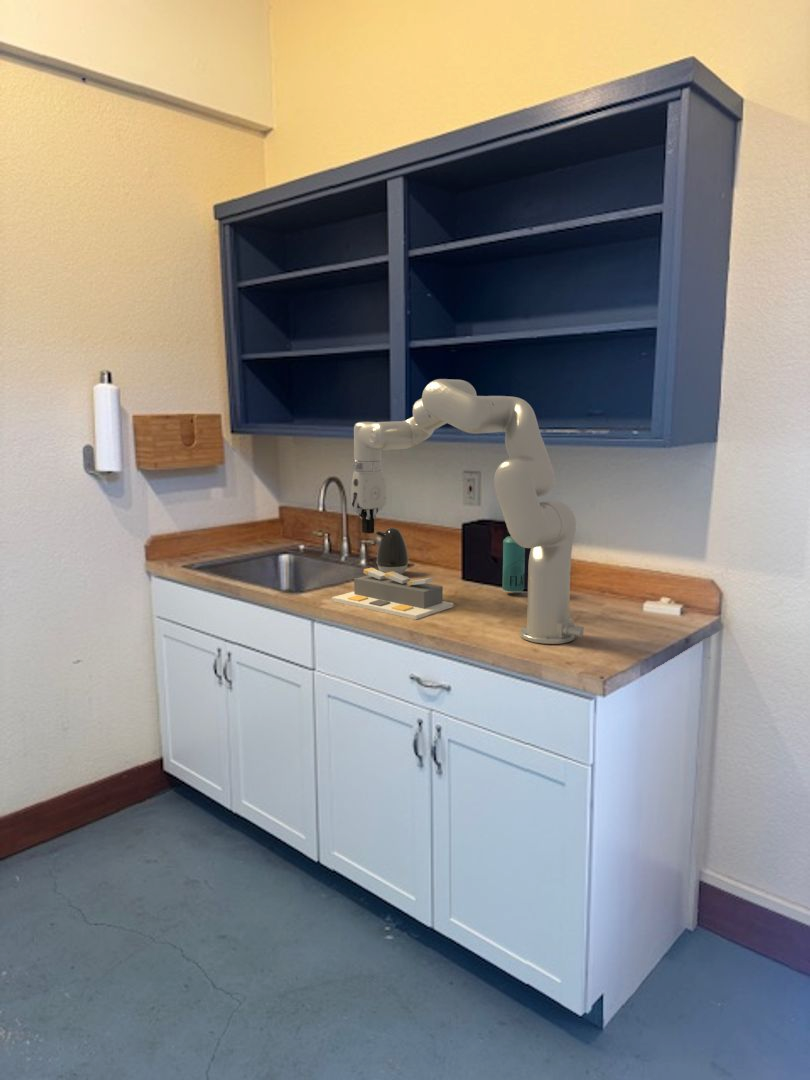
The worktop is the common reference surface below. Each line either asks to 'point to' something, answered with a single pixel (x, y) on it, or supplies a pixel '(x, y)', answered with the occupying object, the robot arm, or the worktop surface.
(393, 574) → the block
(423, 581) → the plate
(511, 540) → the beverage bottle
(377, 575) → the plate
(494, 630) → the worktop surface
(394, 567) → the black egg-shaped figure
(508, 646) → the worktop surface
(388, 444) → the robot arm
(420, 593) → the switch unit
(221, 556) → the worktop surface
